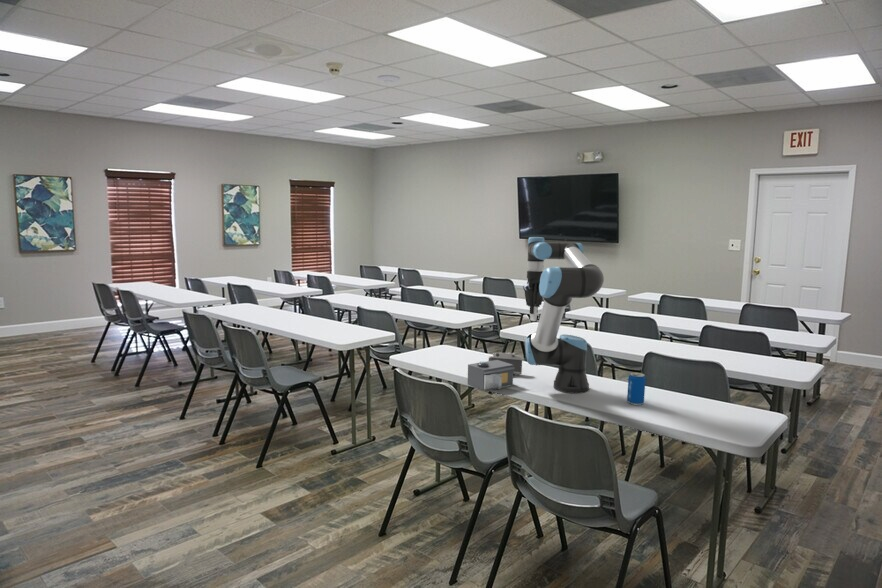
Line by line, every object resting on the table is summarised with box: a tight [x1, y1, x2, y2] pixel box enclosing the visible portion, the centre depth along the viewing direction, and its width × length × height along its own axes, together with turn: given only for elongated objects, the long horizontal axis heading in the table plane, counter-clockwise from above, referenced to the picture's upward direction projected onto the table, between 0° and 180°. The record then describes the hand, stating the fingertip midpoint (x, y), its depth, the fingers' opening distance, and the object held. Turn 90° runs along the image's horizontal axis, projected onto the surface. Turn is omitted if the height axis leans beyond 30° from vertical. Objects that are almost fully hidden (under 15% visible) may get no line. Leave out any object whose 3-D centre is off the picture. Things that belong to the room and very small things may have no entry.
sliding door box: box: [467, 360, 515, 392], centre depth 250 cm, size 12×17×11 cm
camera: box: [488, 351, 523, 376], centre depth 271 cm, size 9×16×10 cm, turn 86°
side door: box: [484, 373, 502, 390], centre depth 242 cm, size 3×7×6 cm, turn 125°
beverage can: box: [626, 372, 647, 406], centre depth 228 cm, size 6×6×12 cm
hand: (533, 320), depth 264 cm, fingers closed
